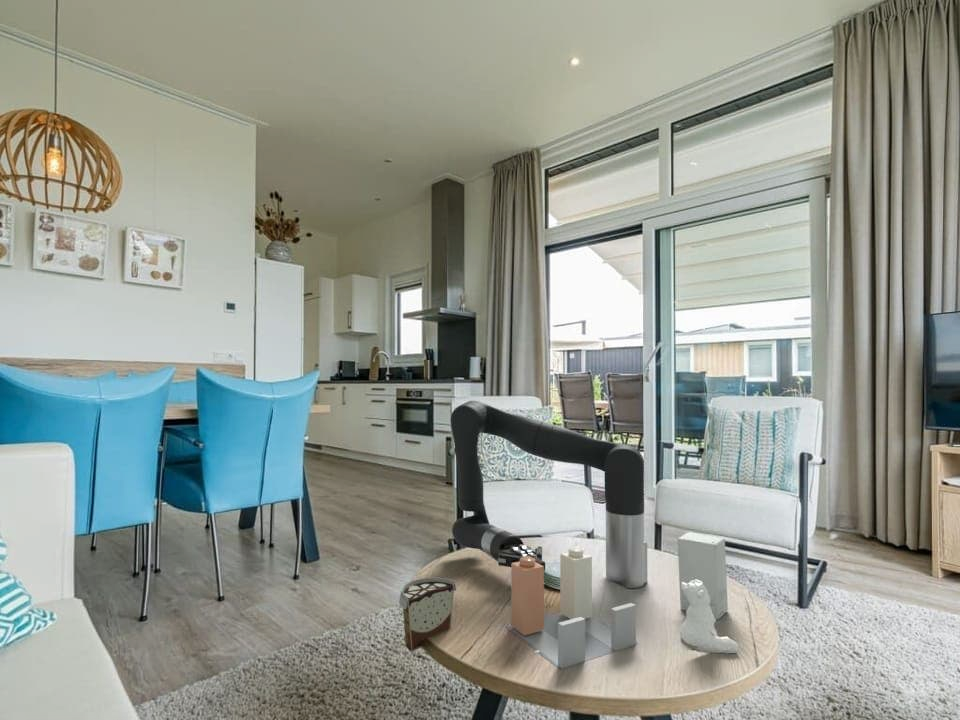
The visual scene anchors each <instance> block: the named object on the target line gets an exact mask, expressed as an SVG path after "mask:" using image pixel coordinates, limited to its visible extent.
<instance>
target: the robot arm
mask: <svg viewBox="0 0 960 720" xmlns="http://www.w3.org/2000/svg"><path fill="white" fill-rule="evenodd" d="M450 415H451V416H450V427H451V435H452V439H453V444H454V450H455V451H454V452H455V457H456V466H457V493H458V494H457V497H458V501H457V503H458V507H459V509H460V510H462V511H464V512H472V513H473V515H470V516H465V517H462V518H458V519H457V520H456V521H455V522H454V523H453V525H452V527H451V533H452V537H453V539H454V541H455V542H456V543H457V544H458V545H460V546H463V547H465V548H470V549H474V550H475V549H476V550H479V551H481V552H483V553H485V554H486V555H487V556H488V557H490V558H491V559H493V560H495V561H496V562H497V566H499V567H506V568H511V563H514V562H520V558H522V557H532V558H534V559H535V562H536V563H538V564H540V565H542V566H544V572H545V571H546V562H545V561H544V560H543V546H541V545H540V546H537V547H535V548H534V549H533V548H532V547H531V546H529V545H525V543H523V541H522V539H521V538H520V537H519V535H516V534H514V533H512V532H510V531H507V530H506V529H504V528H499V527H496V526H495V525H492V524H491V523H490V520H489V518H488V515H487V511H486V506H485V503H484V502H485V501H484V478H483V473H482V469H481V465H480V462H479V457H478V456H479V455H478V444H479V443H478V441H479V436H480V434H487V435H492V436H496V437H499V438H502V439H503V440H506V441H508V442H509V443H511V444H513V445H514V446H515V447H517V448H519V449H520V450H521V451H524V452H526V453H527V454H530V455H532V456H536V457H539V458H543V459H545V460H550V461H553V462H559V463H568V464H569V463H570V464H579V465H584V466H587V467H588V466H589V467H591V468H593V469H597V470H599V471H602V472H604V502H605V579H606V580H608V581H610V582H612V583H614V584H616V585H618V586H620V587H623V588H625V589H637V588H641V587H643V586H644V585H645V584H646V583H648V543H647V541H645V460H644V457H643V455H642V453H641V452H640V451H639V450H638V448H635V447H634V446H632V445H629V444H624V443H620V442H619V443H618V442H613V441H607V440H603V439H598V438H597V439H596V438H593V437H591V436H588V435H585V434H582V433H579V432H578V431H575V430H571V429H569V428H566V427H563V426H560V425H556V424H553V423H550V422H547V421H544V420H539V419H534V418H531V417H527V416H524V415H519V414H516V413H515V414H514V413H510V412H508V411H507V412H506V411H504V410H502V409H499V408H497V407H494V406H492V405H489V404H488V403H485V402H482V401H478V400H468V401H466V402H464V403H462V404H460V405H459V406H456V407H455V408H454V410H453V411H452V413H451V414H450Z"/></svg>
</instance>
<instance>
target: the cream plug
mask: <svg viewBox="0 0 960 720" xmlns="http://www.w3.org/2000/svg"><path fill="white" fill-rule="evenodd" d="M559 559H560V560H559V561H560V562H559V563H560V565H559V568H560V576H559V577H560V579H559V580H560V585H559V586H560V588H559V589H560V590H559V591H560V599H559V601H560V602H559V603H560V604H559V605H560V608H559V613H561V614H563V615H565V616H566V617H568V618H569V619H574V618H578V617H582V618H584V619H586V618H589V617H593V579H592V578H593V556H592V555H589V554H587V553H586V552H585V553H584V549H583V548H579V547H570V548H569V549H568V551H567V552H562V553H560V558H559Z"/></svg>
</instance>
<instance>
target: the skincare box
mask: <svg viewBox="0 0 960 720" xmlns="http://www.w3.org/2000/svg"><path fill="white" fill-rule="evenodd" d="M677 552H678V554H677V556H678V557H677V558H678V581H679V603H680V604H679V605H680V610H682V611H685V612H686V611H687V610H688V607H689V606H690V605H691V603H690V602H689V600H688V599H687V596H686V595H684V591H683V590H682V588H681V583H682V582H684V583H687V584H688V583H689V582H690V581H692V580H700V581H702V582H703V586H704V587H705V588H706V589H707V591H708V595H709V596H710V603H709V605H710V608H711V610H712V613H713V616H714V618H715V619H716V621H719V620H720V619H721V618H722V617H723V615H725V614H726V613H727V612H728V610H729V605H728V583H727V563H726V562H727V561H726V559H727V558H726V539H725V537H718V536H714V535H709V534H708V535H707V534H700V533H695V532H690V531H688V532H686V533H685V534H682V536H679V537H678V538H677Z"/></svg>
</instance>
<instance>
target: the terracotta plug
mask: <svg viewBox="0 0 960 720" xmlns="http://www.w3.org/2000/svg"><path fill="white" fill-rule="evenodd" d="M510 568H511V570H510V571H511V576H510V577H511V581H510V582H511V584H510V585H511V586H510V587H511V588H510V589H511V590H510V593H511V596H510V597H511V598H510V601H511V603H510V606H511V607H510V608H511V610H510V612H511V613H510V614H511V615H510V626H512V627H513V628H515V629H516V630H517V631H519V632H520V633H521V634H523V635H524V636H525V635H528V634H532V633H535V632H539V631H543V630H544V617H545V602H544V601H545V597H544V596H545V595H544V594H545V571H544V566H542V565H540V564H538V563H536V562H535V559H534V558H532V557H522V558H520V562H514V563H511V567H510Z"/></svg>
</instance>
